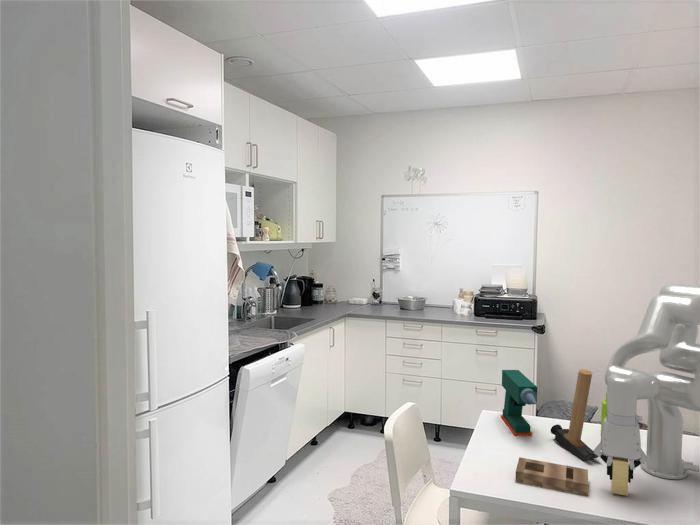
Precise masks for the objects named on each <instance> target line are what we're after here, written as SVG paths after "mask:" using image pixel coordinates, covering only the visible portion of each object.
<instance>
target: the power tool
mask: <svg viewBox="0 0 700 525" xmlns="http://www.w3.org/2000/svg"><path fill="white" fill-rule="evenodd" d="M501 386H502V387H503V389H504V390H505V394H504V404H503V405H504V406H503V408H502V414H501V415H500V419H501V420H502V422H503V423H504V424H505V425H506V426H507V428H508V429H509V431H510V432H511V433H512V435H513V436H514V437H533V433H532V431H531V425H530V424H529V422H528V421H527V420H526V419H525V418H524V417H523V416H522V415H523V408H524V407H526V405H529V406H530V405H537V402H538V386H537V385H535V383H534V382H532V381H531V380H530V379H529V378H528V377H527V376H526V375H525V374H524V373H522V372H521V371H520V370H519V369H502V370H501Z"/></svg>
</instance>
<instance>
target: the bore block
mask: <svg viewBox="0 0 700 525" xmlns="http://www.w3.org/2000/svg"><path fill="white" fill-rule="evenodd" d="M515 483H519V484H523V483H524V484H525V485H528V484H529V486H533V485H535V486H534V487H538V486H540V487H539V488H543V487H544V488H543V489H548V488H550V489H549V490H553V489H554V491H560V492H564V493H570V494H575V495H580V496H585V497H589V469H587V468H581V467H575V466H571V465H570V466H569V465H566V464H559V463H554V462H549V461H542V460H537V459H531V458H526V457H520V456H519V458H518V460H517V465H516V469H515Z"/></svg>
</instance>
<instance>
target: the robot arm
mask: <svg viewBox="0 0 700 525" xmlns="http://www.w3.org/2000/svg"><path fill="white" fill-rule="evenodd" d="M699 325H700V285H691V284H678V283H677V284H676V283H673V284H666V285H663V286H662V287H661V289H660V291H659V294H657V295H655V296H653V297H652V298H651V300H650V301H649V303H648V305H647V308H646V310H645V314H644V317H643V319H642V321H641V323H640V326H639V328H638V332H637V334H636V335H635V336H634V337H632V338H630V339H629V340H627V341H625V342H624V343H623V344H621V345H620V346H619V347H618V348H617V349H615V351H614V352H613V354H612V355H611V357H610V360H609V361H608V364H607V366H606V370H605V374H604V382H605V384H606V387H607V388H606V392H607V418H605V419H604V420H603V424H602V431H601V430H600V442H599V443H598V444H597V445H596V447H595V448H594V449H593V451H594V453H595V454H596V455H597V456H599V457H598V458H600V459H601V460H602V461H603V462H604V464H606V475H607V476H609V480H610V481H611V480H612V470H613V467H612V458H613V457H618V458H625V459H628V461H629V469H628V484H631V481H632V480H634V470H635V469H636V468H637V467H639V466H640V467H641V469H642V470H643V471H645V472H646V473H648V474H650V475H653V476H655V477H659V478H662V479H668V480H682V479H685V478H687V474H688V471H691V472H696V473H700V465H696V464H694V463H693V462H692V461H685V460H683V458H682V457H683V456H682V452H683V434H684V432H683V431H684V430H683V429H684V417H683V414H682V412H681V410H680V409H679V408H683V409H686V410H689V411H694V412H700V343H697V342H696V341H697V337H698V334H699V328H698V326H699ZM657 351H659V355H658V359H659V360H658V361H659V363H660V365H661V366H662V367H664V368H666V369H670V370H672V371H678V372H682V373H687V374H691V375H694V377H690V376H686V375H681V374H676V373H672V372H667V371H661V370H660V371H659V370H657V371H653V372H646V371H641V370H637V369H634V368H629V367H626V365H627V364H628V362H629V361H631V360H632V359H634V358H635V357H637V356H639V355H643V354H648V353H652V352H657ZM638 400H647V426H646V427H647V428H646V429H647V432H646V453H645V452H644V451H643V449H642V442H641V441H642V440H641V431H640V430H641V429H640V426H639V423H638V422H643V416H641V415H638V414H637V406H638V405H637V403H638V402H637V401H638Z"/></svg>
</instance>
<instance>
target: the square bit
mask: <svg viewBox="0 0 700 525" xmlns="http://www.w3.org/2000/svg"><path fill="white" fill-rule="evenodd" d="M612 467H613V470H612V480H610V482H611V486H610V487H611V494H616V495H621V496H626V497H628V496H629V483H628V469H629V460H628V459H625V458H618V457H613V458H612Z"/></svg>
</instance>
